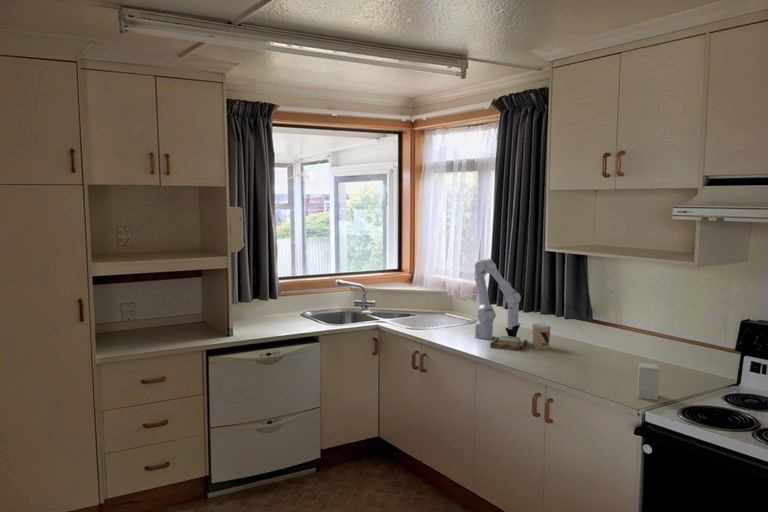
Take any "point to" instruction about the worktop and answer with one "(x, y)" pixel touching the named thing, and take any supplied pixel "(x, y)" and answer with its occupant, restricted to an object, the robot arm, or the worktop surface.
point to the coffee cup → (541, 335)
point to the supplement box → (648, 381)
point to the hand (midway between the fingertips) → (512, 339)
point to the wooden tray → (507, 345)
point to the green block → (509, 340)
